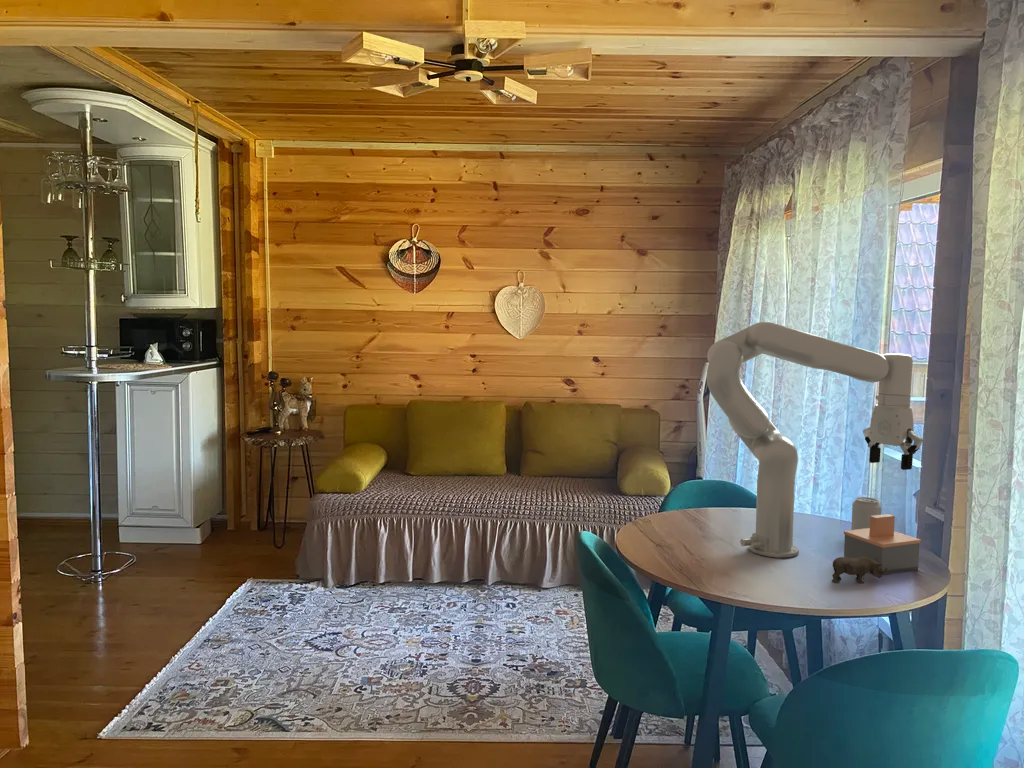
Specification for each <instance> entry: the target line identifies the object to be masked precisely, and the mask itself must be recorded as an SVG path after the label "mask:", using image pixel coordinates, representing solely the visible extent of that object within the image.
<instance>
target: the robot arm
mask: <svg viewBox="0 0 1024 768" xmlns="http://www.w3.org/2000/svg"><path fill="white" fill-rule="evenodd" d="M762 354H763V355H765V356H769V357H773V358H777V359H780V360H782V361H787V362H791V363H793V364H797V365H800V366H804V367H807V368H810V369H811V368H812V369H816V370H822V371H823V370H824V371H827V372H828V371H829V372H831V373H837V374H840V375H844V376H848V377H851V378H853V379H855V380H857V381H862V382H867V383H877V382H878V392H877V393H878V394H876V395H875V399H876V400H877V404H874V407H873V410H872V414H871V419H870V424H869V427H866V428H865V429H863V430H862V433H863V436H864V440H865V442H866V444H867V447H868V448H869V459H868V460H869V461H868V462H869V463H871V464H876V463H877V464H879V463H880V462H881V451H882V450H881V447H880V446H881V444H883V445H887V446H894V447H898V446H899V447H900V449H901V451H902V452H903V453H902V454H901V459H900V469H901V470H903V471H904V470H905V471H906V470H912V468H913V458H914V455H915V454H916V452H917V451H919V450H920V448H921V446H922V444H923V442H924V439H923V438H922V437H921V436H919V435H918V434H917V433H916V432H914V414H913V410H912V407H911V395H912V380H913V379H912V378H913V363H914V359H913V357H912V356H911V355H910V354H907V353H884V354H880V353H877V352H874V351H870V350H866V349H864V348H859V347H856V346H851V345H849V344H845V343H843V342H838V341H835V340H832V339H830V338H826V337H823V336H819V335H816V334H813V333H810V332H809V333H808V332H806V331H803V330H798V329H795V328H791V327H788V326H784V325H782V324H778V323H774V322H770V321H759V322H757V323H754V324H751V325H748V326H747V327H746V328H744V329H741V330H740V331H737V332H735V333H733V334H731V335H729V336H726V337H725V338H722V339H720V340H718V341H716V342H714V343H713V344H712V345H710V347H709V348H708V351H707V354H706V355H707V356H706V357H707V359H706V360H707V362H708V365H707V369H706V384H707V387H708V390H709V393H710V394H711V396H712V397H713V400H714V401H716V403H717V405H718V406H719V407H720V408H721V410H722V411H723V413H724V414H725V415H726V417H727V418H728V422H729V424H730V426H731V429H733V431H734V432H735V434H737V436H738V437H739V439H740V440H741V441H742V442H743V444H744V445H745V446H746V447H747V449H748V450H749V451H750V452H751V453H752V455H754V457H755V459H756V460H758V470H757V479H756V507H755V508H756V509H755V510H756V512H755V532H754V533H753V532H752V534H751V537H750V538H741V539H740V541H739V542H740V545H741V547H746V546H749V547H748V549H749V550H750V551H751V552H752V553H754V554H757V555H758V556H759V555H760V556H764V557H770V558H777V559H778V558H782V559H783V558H785V559H786V558H787V559H788V558H793V557H796V556H798V555H799V551H800V550H799V548H798V546H796V545H794V544H793V543H794V542H793V540H794V519H795V517H794V513H795V488H796V487H795V485H796V473H797V469H798V462H799V460H798V459H799V456H798V450H797V448H796V446H795V444H794V442H792V441H791V439H789V438H788V437H786V436H785V435H783V434H782V433H781V432H780V431H779V430H778V429H777V427H776V426H775V424H774V423H773V422H772V420H770V417H769V414H768V412H767V411H766V409H765V408H764V407H763V406H761V404H760V403H759V402H758V401H757V400H756V399H755V397H754V396H753V395H752V393H751V392H750V391H749V390H748V388H747V387H746V386H745V384H744V383H743V381H742V379H741V375H740V369H741V367H742V365H743V364H744V363H746V362H749V361H751V360H752V359H755V358H756V357H758V356H759V355H762Z"/></svg>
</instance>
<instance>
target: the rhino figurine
mask: <svg viewBox="0 0 1024 768" xmlns="http://www.w3.org/2000/svg"><path fill="white" fill-rule="evenodd" d="M882 564H883V563H877V559H875V560H874V561H873V560H871V559H869V558H867V557H860V558H855V559H853V558H849V557H844V556H843V557H841V556H840V557H837V558H835V559H833V561H832V568H833V571H834V572H833V574H832V575H831V576H832V580H831V582H832V583H834V584H840V581H841V580H842V577H841V575H843V574H847V575H849V576H856V577H855V580H856V582H857V583H858V584H861V585H862V584H864V583H865V582H864V581H863V577H865V575H866V574H868V572H869V573H870V574H871V576H874V577H876V578H878V579H881V578H882V576H883V575H882V574H883V573H885V572H886V571H887V568H886V569H885V570H882V567H881V568H878V566H881V565H882Z"/></svg>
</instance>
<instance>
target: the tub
mask: <svg viewBox="0 0 1024 768" xmlns="http://www.w3.org/2000/svg"><path fill="white" fill-rule="evenodd" d="M920 544H921V543H916V544H908V545H900V546H892V547H884V548H882V547H879V546H876V545H874V544H871V543H868V542H865V541H862V540H859V539H856V538H854V537H851V536H848V535H845V534H844V546H843V547H844V549H843V557H849V558H853V559H855V558H860V557H867V558H869V559H871V560H873V561H874V560H875V559H877V563H883V564H882V565H881V566H878V568H881V567H882V570H885V569H886V568H887V571H886V572H885V573H883V574H882V576H886V575H893V574H901V573H907V572H914V571H919V563H920V561H919V560H920Z"/></svg>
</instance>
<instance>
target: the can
mask: <svg viewBox="0 0 1024 768" xmlns="http://www.w3.org/2000/svg"><path fill="white" fill-rule="evenodd" d="M851 507H852V508H851V511H852V512H851V527H850V528H851V529H850V530H857V529H866V528H870V516H875V515H882V504H880V499H877V498H873V497H868V496H867V497H866V496H858V497H855V498H854V501H853V502H852V506H851Z"/></svg>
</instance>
